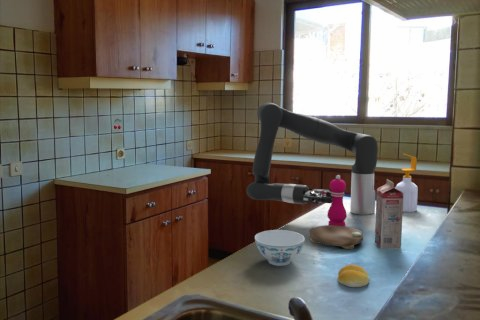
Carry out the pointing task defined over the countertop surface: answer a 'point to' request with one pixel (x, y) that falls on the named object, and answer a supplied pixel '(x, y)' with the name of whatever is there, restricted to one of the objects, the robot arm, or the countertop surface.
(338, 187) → the pepper mill
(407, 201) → the soap bottle
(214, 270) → the countertop surface
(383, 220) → the juice carton
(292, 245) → the chinaware
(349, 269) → the bread roll
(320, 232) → the round wooden disc
